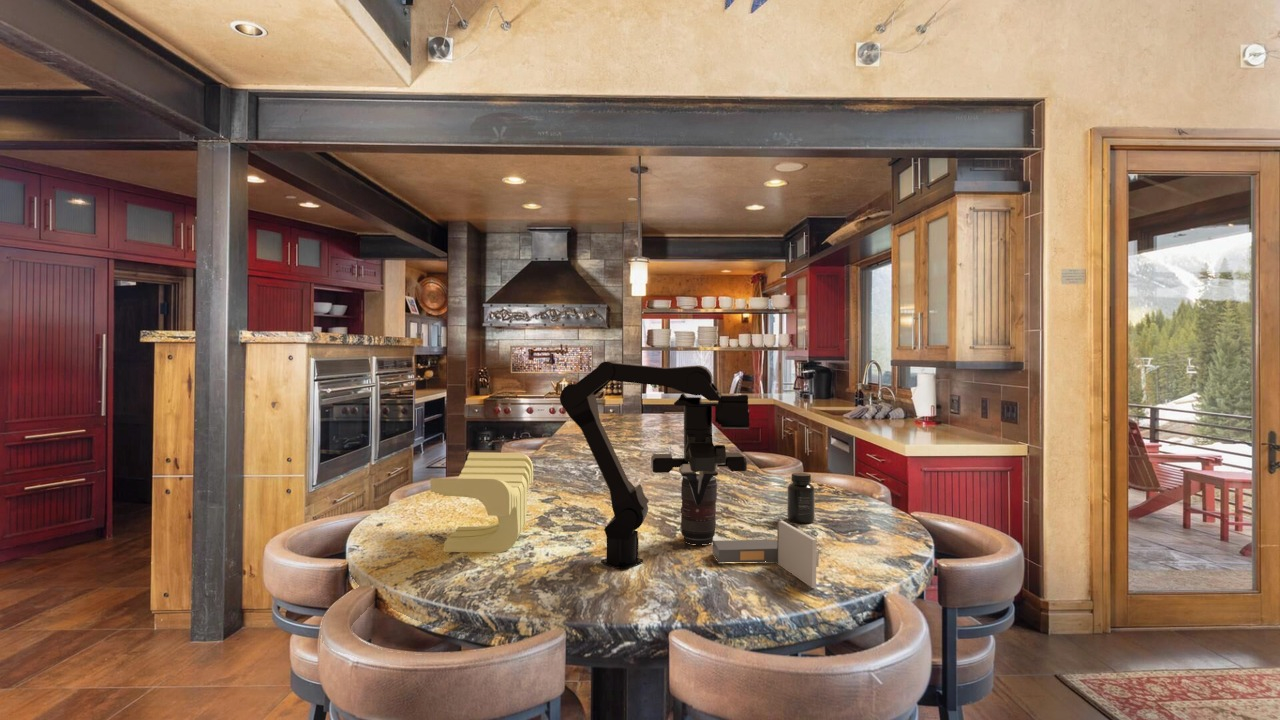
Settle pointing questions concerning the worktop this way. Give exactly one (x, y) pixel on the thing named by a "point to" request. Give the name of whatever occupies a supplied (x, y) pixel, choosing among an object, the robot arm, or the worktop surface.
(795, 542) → the side door
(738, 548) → the grey rectangular box
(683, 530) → the camera lens
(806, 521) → the supplement bottle
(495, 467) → the slatted curved stool
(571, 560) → the worktop surface
